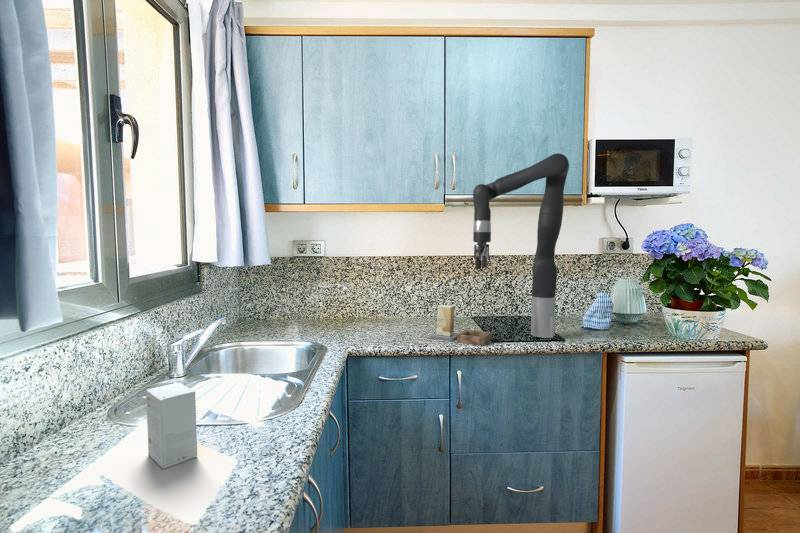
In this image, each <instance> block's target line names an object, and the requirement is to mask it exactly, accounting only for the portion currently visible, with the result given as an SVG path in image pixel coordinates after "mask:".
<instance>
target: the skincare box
mask: <svg viewBox="0 0 800 533" xmlns="http://www.w3.org/2000/svg"><path fill="white" fill-rule="evenodd" d="M455 308H456V307H455V305H448V304H439V305H437V309H436V310H437V316H436V332H437V335H444V336H452V335H453V334H454V333H455V326H454V325H455Z"/></svg>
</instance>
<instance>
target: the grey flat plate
mask: <svg viewBox="0 0 800 533" xmlns="http://www.w3.org/2000/svg"><path fill="white" fill-rule="evenodd" d="M458 334H460V333H458V332H454V334H453V335H452V336H444V335H437V331H435V332H434V333H433V334H430V335H429V337H428V339H430V340H431V339H433V340H442V341H448V342H453V341H455V340H457V335H458Z"/></svg>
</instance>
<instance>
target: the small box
mask: <svg viewBox="0 0 800 533" xmlns="http://www.w3.org/2000/svg"><path fill="white" fill-rule="evenodd" d="M145 391H146V392H145V393H146V397H145V398H146V418H147V419H146V424H147V445H148V447H147V448H148V450H147V451H148V452H147V453H148V455H149V456H150V457H151V458H152V460H154V461H155V462H156V463H157V464H158V465H159V467H161V469H163V470H164V469H167V468H170V467H173V466H176V465H178V464H181V463H184V462H187V461H189V460H192V459H195V458H197V457H198V435H197V410H196V409H197V408H196V391H195V390H193V389H192V388H190V387H188V386H187V385H185V384H183V383H181V382H179V381H178V382H174V383H170V384H166V385H162V386H161V385H160V386H156V387H153V388H147V389H146V390H145Z"/></svg>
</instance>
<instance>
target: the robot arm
mask: <svg viewBox="0 0 800 533" xmlns="http://www.w3.org/2000/svg"><path fill="white" fill-rule="evenodd" d="M569 169H570V163H569V159H568V157H567V156H566V155H565V154H562V153H554V154H551V155H549V156H548V157H546V158H544V159H542V160H540V161H538V162H536V163H535V164H532V165H530V166H528V167H526V168H523V169H521V170H517V171H514V172H513V173H509V174H507V175H504V176H502V177H500V178H497V179H495V180H494V181H493V182H490V183H488V184H484V183H480V184H477V185H476V186H475V187H474V189H473V193H472V199H473V200H472V201H473V207H474V208H473V209H474V214H473V215H474V216H473V228H472V229H473V231H472V232H473V233H472V234H473V235H472V236H473V238H472V240H473V242H474V243H477V244H474V246H473V249H474V251H473V253H474V254H473V259H475V269H476V270H481V269H482V268H483V269H485V268H488V260H489V258H490V244H488V243H491V241H492V223H491V219H492V218H491V217H492V215H491V214H492V213H491V207H490V201H491V200H494V199H495V198H497V197H499V196H501V195H505V194H508V193H510V192H513V191H516V190H519V189H521V188H523V187H525V186H527V185H529V184H531V183H532V182H536V181H539V180H541V179H545V186H544V187H545V188H544V189H545V190H544V194H543V197H542V200H541V202H540V207H539V214H538V220H537V237H536V239H537V242H536V243H537V244H536V250H535V256H534V260H533V263H532V266H531V270H532V286H531V287H532V288H531V314H530V315H531V316H530V318H531V319H530V336H531V335H533V336H537V337H542V338H553V337H554V336H555V337H556V311H555V310H556V292H557V277H558V275H557V274H558V272H557V269H558V268H557V265H556V263H555V255H556V245H557V242H558V239H559V235H560V233H561V229H562V223H563V216H564V190H565V185H566V181H567V177H568V172H569ZM555 337H554V338H555Z"/></svg>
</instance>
